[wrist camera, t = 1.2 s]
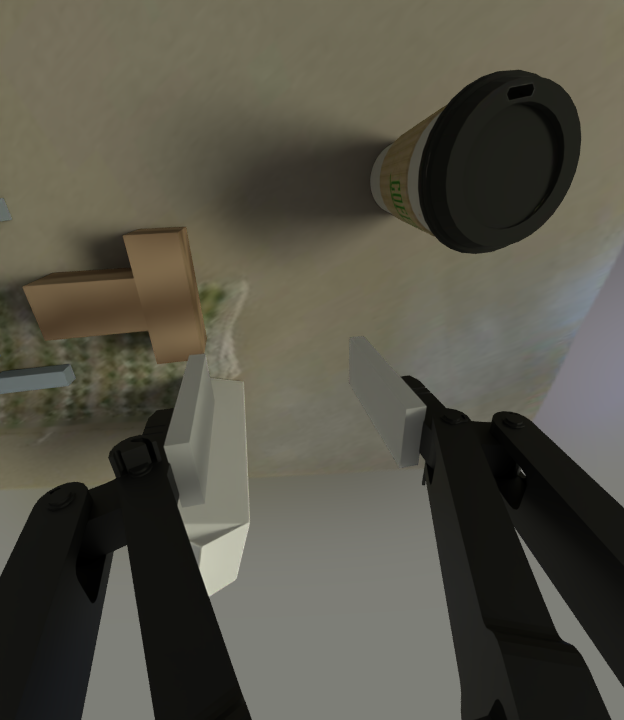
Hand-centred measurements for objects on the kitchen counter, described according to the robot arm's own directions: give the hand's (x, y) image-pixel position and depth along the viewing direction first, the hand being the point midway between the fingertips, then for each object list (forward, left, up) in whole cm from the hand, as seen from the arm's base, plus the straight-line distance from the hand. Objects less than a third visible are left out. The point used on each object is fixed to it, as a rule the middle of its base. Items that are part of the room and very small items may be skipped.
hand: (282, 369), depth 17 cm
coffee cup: (-9, +14, -19) cm, 26 cm away
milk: (+13, -6, -19) cm, 24 cm away
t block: (0, -12, -19) cm, 23 cm away
